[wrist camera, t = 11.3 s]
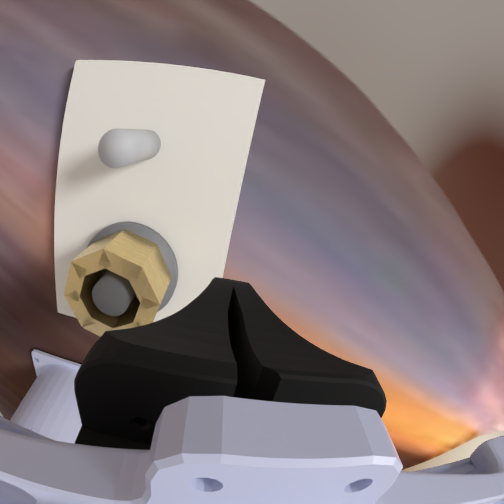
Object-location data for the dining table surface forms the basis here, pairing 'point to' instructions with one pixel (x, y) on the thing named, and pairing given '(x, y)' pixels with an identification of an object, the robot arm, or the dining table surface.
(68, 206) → the assembly board
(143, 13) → the dining table surface
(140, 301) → the brass collar
